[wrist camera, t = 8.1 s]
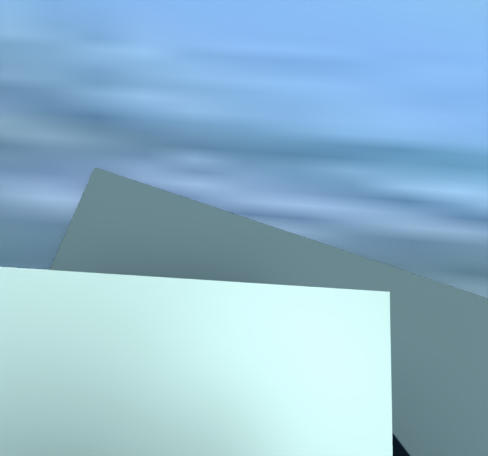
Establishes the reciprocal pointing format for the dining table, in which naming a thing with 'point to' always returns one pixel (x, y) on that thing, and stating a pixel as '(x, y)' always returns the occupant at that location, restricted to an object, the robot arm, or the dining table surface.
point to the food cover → (190, 367)
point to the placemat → (302, 274)
